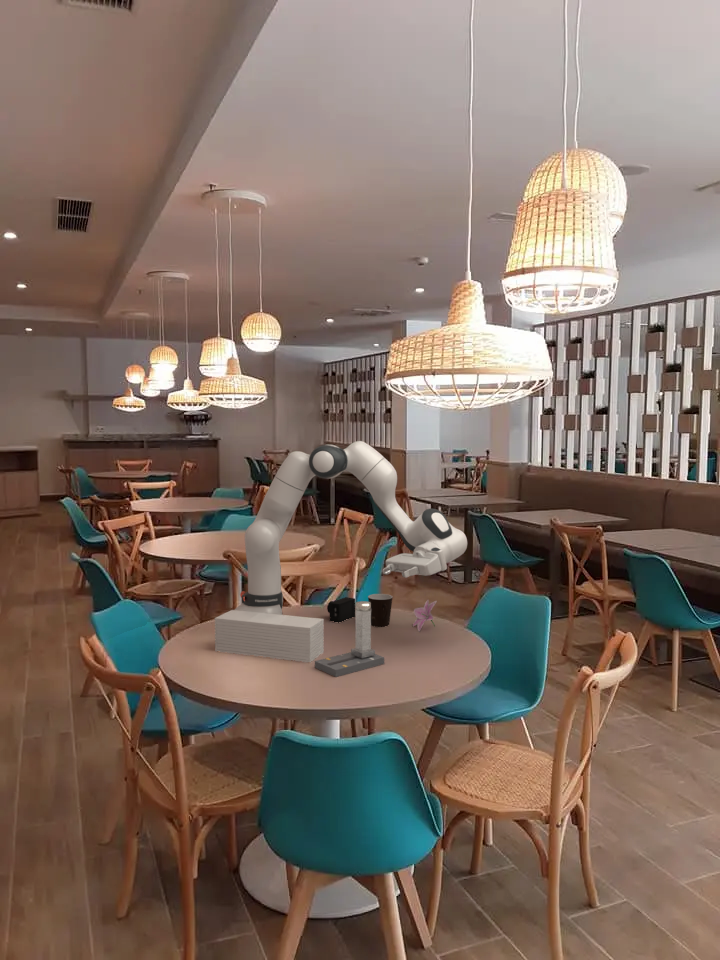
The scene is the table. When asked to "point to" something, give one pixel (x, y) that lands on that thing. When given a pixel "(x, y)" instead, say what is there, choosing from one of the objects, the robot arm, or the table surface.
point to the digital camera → (341, 609)
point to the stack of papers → (269, 635)
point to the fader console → (347, 664)
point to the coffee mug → (380, 609)
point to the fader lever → (363, 631)
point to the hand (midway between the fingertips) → (393, 573)
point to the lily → (423, 614)
